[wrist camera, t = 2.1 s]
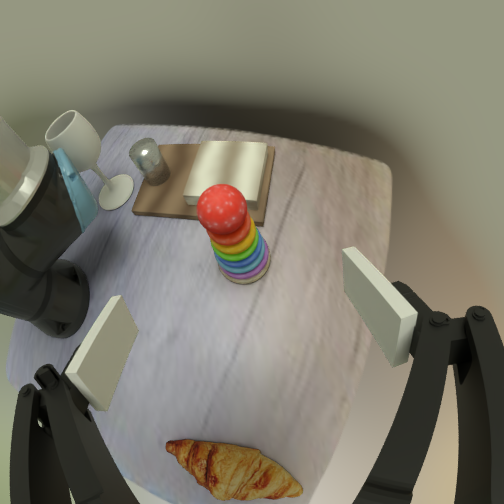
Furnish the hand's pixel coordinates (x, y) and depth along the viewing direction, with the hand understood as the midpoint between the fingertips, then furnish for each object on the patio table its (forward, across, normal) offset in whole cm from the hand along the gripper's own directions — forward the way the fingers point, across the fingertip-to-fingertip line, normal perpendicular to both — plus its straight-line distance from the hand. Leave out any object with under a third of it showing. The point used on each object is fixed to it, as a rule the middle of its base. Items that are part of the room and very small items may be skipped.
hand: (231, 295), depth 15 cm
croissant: (+3, -8, -33) cm, 34 cm away
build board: (+37, -5, +2) cm, 37 cm away
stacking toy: (+26, 0, -10) cm, 27 cm away
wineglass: (+40, -24, +5) cm, 46 cm away
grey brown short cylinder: (+38, -13, +6) cm, 41 cm away
